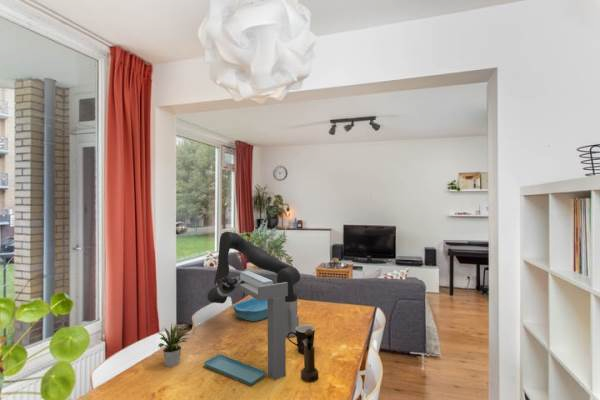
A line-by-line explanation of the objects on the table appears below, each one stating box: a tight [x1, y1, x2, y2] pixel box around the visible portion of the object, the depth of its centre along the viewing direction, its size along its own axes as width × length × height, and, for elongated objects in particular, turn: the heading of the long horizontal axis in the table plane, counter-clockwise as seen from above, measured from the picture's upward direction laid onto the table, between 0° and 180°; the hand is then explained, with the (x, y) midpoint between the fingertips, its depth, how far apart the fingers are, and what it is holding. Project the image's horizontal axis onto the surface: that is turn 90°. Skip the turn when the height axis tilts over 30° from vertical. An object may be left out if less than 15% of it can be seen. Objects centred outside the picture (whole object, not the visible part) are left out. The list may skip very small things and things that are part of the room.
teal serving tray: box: [203, 353, 268, 387], centre depth 125 cm, size 26×9×2 cm, turn 56°
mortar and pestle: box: [300, 329, 319, 383], centre depth 120 cm, size 7×6×18 cm
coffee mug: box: [286, 324, 316, 356], centre depth 142 cm, size 12×9×10 cm
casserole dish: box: [232, 297, 268, 322], centre depth 194 cm, size 37×22×7 cm, turn 145°
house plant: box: [157, 322, 189, 368], centre depth 130 cm, size 14×14×16 cm
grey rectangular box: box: [239, 270, 274, 288], centre depth 134 cm, size 24×4×3 cm, turn 32°
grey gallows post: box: [238, 282, 288, 381], centre depth 128 cm, size 20×12×35 cm, turn 32°
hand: (236, 276), depth 153 cm, fingers open, 8 cm apart
